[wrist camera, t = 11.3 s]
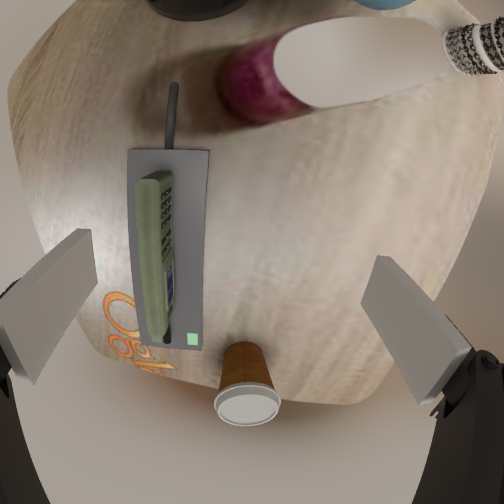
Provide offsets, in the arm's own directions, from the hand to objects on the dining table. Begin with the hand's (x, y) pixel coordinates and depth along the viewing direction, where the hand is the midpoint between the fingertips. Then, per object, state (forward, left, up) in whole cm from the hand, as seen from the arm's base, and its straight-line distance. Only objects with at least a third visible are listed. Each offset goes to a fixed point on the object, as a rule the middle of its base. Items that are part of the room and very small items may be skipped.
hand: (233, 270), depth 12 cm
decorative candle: (-28, +34, -24) cm, 51 cm away
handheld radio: (+12, -8, -23) cm, 27 cm away
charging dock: (+7, -8, -24) cm, 26 cm away
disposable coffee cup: (+29, +4, -24) cm, 38 cm away
